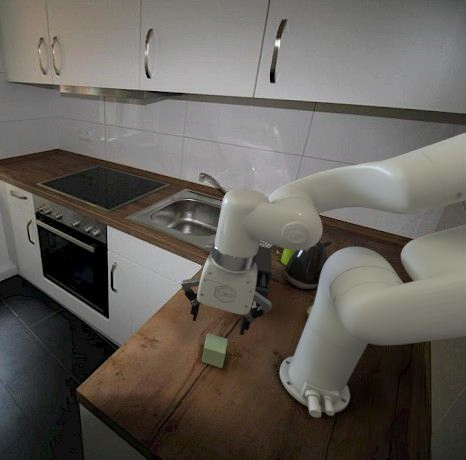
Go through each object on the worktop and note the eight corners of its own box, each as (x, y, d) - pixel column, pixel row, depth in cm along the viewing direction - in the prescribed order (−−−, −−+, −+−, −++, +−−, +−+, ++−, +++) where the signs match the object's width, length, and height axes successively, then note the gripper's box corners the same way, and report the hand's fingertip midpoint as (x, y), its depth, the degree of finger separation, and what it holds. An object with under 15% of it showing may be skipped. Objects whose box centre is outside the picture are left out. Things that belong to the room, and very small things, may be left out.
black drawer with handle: (261, 328, 77) (268, 304, 74) (216, 316, 81) (221, 293, 77) (262, 287, 92) (268, 265, 88) (223, 279, 95) (228, 257, 92)
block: (222, 368, 68) (225, 354, 66) (201, 361, 70) (204, 347, 68) (224, 352, 72) (227, 338, 70) (204, 346, 74) (207, 332, 71)
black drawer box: (263, 300, 88) (271, 272, 84) (219, 290, 92) (224, 262, 88) (264, 274, 99) (271, 248, 95) (224, 265, 103) (229, 240, 99)
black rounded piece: (328, 292, 91) (346, 247, 84) (296, 296, 90) (312, 250, 83) (305, 272, 100) (319, 230, 93) (275, 275, 99) (287, 232, 92)
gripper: (183, 255, 58) (173, 323, 66) (285, 278, 52) (261, 349, 60) (191, 236, 64) (181, 301, 72) (283, 255, 58) (261, 323, 67)
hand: (217, 323), depth 66 cm, fingers open, 9 cm apart
